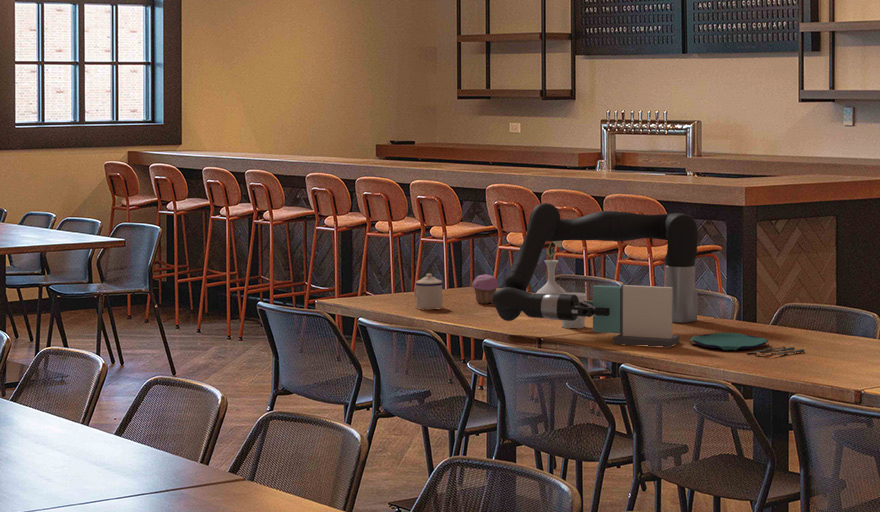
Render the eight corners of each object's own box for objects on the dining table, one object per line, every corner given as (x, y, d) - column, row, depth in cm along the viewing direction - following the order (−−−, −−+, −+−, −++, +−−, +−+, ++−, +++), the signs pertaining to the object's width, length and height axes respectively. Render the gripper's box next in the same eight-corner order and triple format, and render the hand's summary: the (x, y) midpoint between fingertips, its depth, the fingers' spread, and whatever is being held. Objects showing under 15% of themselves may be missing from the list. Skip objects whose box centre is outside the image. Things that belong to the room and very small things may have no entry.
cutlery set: (728, 337, 355) (728, 329, 355) (811, 354, 330) (811, 346, 330) (677, 345, 345) (677, 337, 344) (758, 363, 319) (758, 355, 319)
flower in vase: (569, 302, 427) (569, 229, 424) (536, 302, 427) (535, 230, 425) (566, 297, 440) (566, 226, 437) (533, 297, 440) (533, 227, 438)
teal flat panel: (622, 332, 349) (622, 286, 348) (620, 333, 348) (620, 287, 346) (595, 330, 353) (595, 285, 351) (592, 331, 351) (592, 286, 350)
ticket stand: (679, 342, 347) (679, 285, 345) (669, 348, 338) (670, 290, 336) (624, 338, 353) (624, 283, 352) (613, 344, 345) (613, 287, 343)
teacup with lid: (448, 308, 416) (448, 273, 415) (427, 311, 410) (427, 276, 409) (425, 304, 425) (425, 270, 424) (405, 307, 419) (404, 273, 418)
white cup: (585, 329, 371) (585, 296, 370) (558, 328, 372) (558, 295, 371) (587, 325, 378) (587, 292, 377) (561, 324, 380) (561, 292, 379)
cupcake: (482, 300, 433) (482, 272, 432) (503, 302, 428) (503, 273, 427) (467, 303, 426) (467, 274, 425) (489, 305, 421) (488, 276, 420)
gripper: (551, 297, 349) (606, 299, 342) (568, 290, 362) (622, 293, 355) (551, 323, 350) (606, 326, 343) (568, 316, 363) (622, 319, 355)
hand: (614, 309), depth 349 cm, fingers open, 8 cm apart
